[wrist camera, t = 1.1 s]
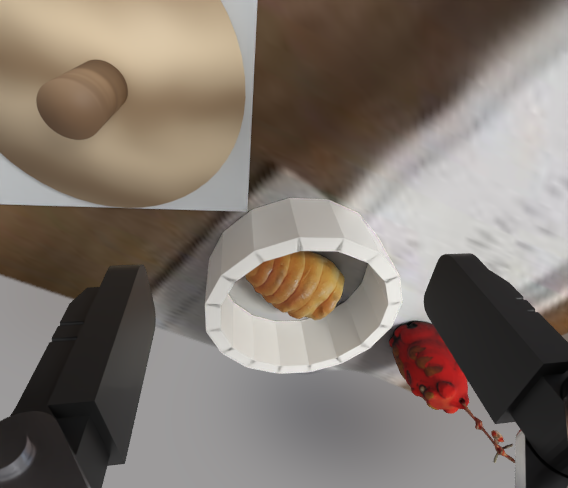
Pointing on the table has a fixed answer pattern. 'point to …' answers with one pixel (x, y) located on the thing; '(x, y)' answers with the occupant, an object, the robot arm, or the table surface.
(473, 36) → the table surface
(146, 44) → the lid
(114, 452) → the robot arm
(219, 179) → the mat
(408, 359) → the red clay folk toy
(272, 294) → the pastry
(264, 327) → the bowl
